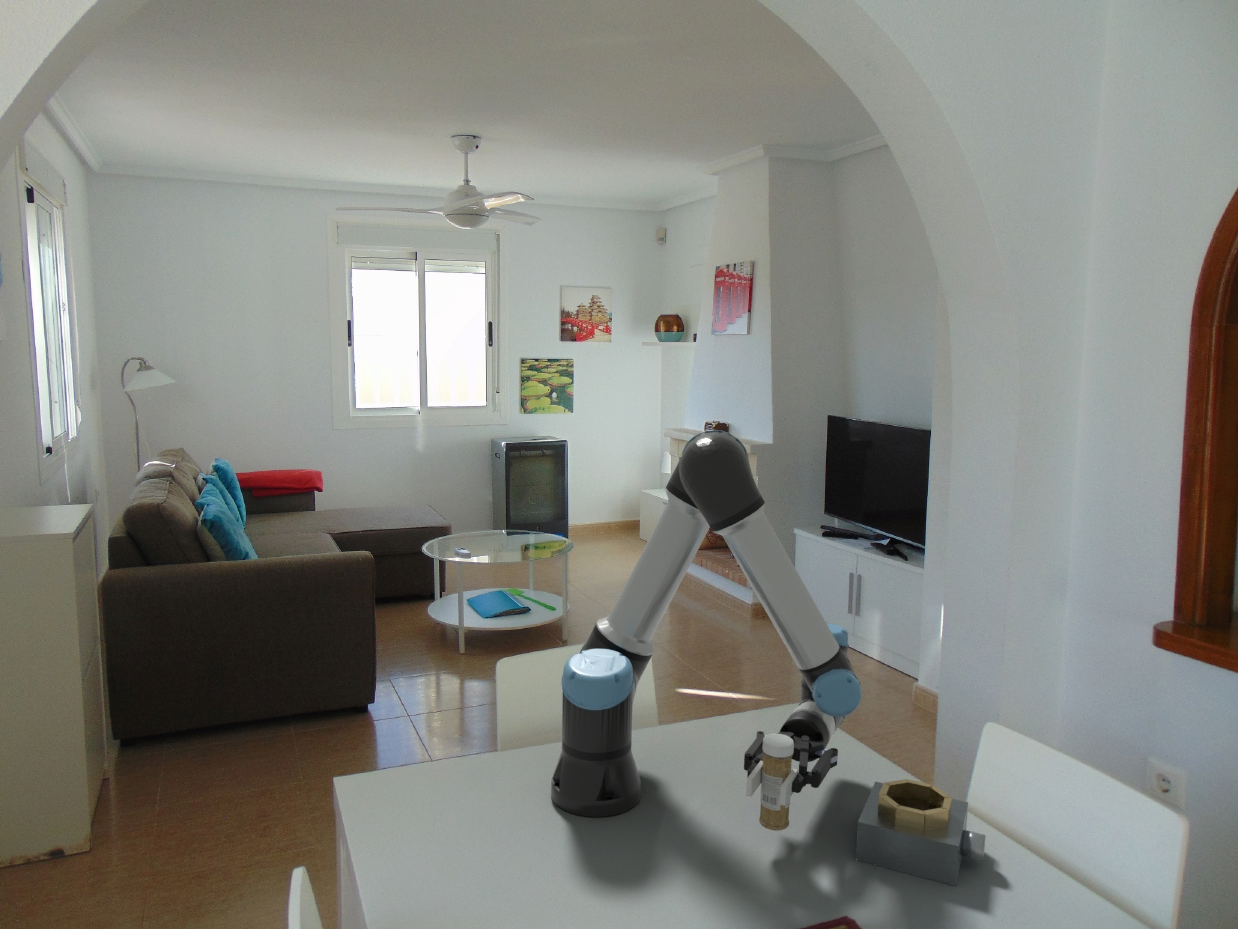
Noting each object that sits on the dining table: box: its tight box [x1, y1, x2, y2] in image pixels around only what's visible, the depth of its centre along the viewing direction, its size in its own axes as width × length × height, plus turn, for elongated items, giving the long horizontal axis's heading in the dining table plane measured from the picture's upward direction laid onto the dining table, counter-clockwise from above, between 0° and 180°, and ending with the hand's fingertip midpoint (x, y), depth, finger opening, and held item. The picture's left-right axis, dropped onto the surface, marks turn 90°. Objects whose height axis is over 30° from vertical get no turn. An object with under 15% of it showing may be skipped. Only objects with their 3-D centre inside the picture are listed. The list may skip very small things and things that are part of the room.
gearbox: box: [855, 778, 987, 887], centre depth 133 cm, size 17×14×8 cm
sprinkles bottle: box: [758, 733, 794, 832], centre depth 133 cm, size 5×5×13 cm
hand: (765, 791), depth 128 cm, fingers closed on sprinkles bottle, 4 cm apart
